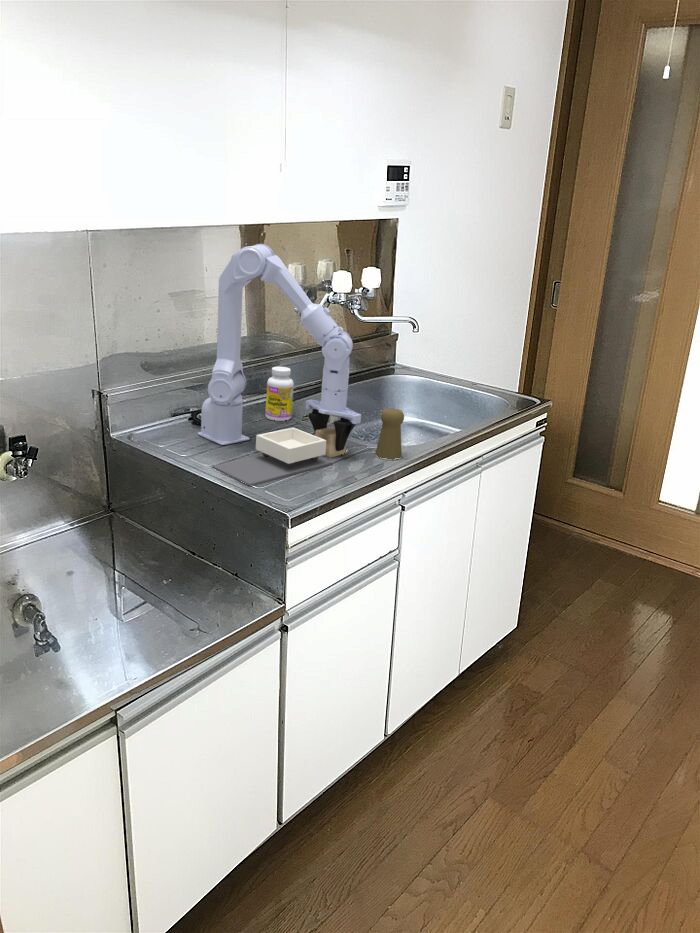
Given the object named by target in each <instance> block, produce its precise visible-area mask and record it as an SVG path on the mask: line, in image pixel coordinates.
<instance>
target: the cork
mask: <svg viewBox="0 0 700 933" xmlns="http://www.w3.org/2000/svg"><path fill="white" fill-rule="evenodd" d="M380 420H381V421H380V422H382V424H381V429H380V433H379V437H378V441H377V446H376V449H375V453H376V455H377V456H378V457H381V458H387V459H395V458H400V457H401V458H402V430H401V429H402V426H401V425H402V424H403V423H404V420H405V414H404V412H403V411H402V410H401V409H398V408H391V407H388V408H385V409H383V410H382V412H381V414H380ZM378 457H377V458H378Z"/></svg>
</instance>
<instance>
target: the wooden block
mask: <svg viewBox="0 0 700 933" xmlns="http://www.w3.org/2000/svg"><path fill="white" fill-rule="evenodd" d="M314 436H317V437H319V438H322V439H324V440H327V441H326V454H325V455H323V456H325V457H327V458H329V459H331V458H334V457H338V456H341V454H342V455H345V454H346V447H347V443H346V444H345V447H344V450H341V451H336V431H335V427H333V426H330V427H328V426H327V428H324V429H319V430H316V431H315V433H314ZM344 453H345V454H344Z"/></svg>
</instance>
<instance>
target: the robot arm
mask: <svg viewBox="0 0 700 933" xmlns="http://www.w3.org/2000/svg"><path fill="white" fill-rule="evenodd" d="M260 276H261V278H260V281H261V282H262V281H263V282H266V283H270V284H273V285H276V286H277V288H278V289H279V290H280V291H281V292H282V293H283V295H284V296H285V297H286V298H287V299H288V300H289V301H290V303H291V304H292V305H293V306H294V307H295V309H297V311H298V312H299V313H300V323H301V324H302V326H303V327H304V329H306V331H307V332H308V333H309V334H310V335H311V337H312V338H313V339H314V340H315V342H316V343H317V344H318V345H320V347H322V348H321V353H322V356H323V357H324V362H323V367H322V368H323V369H322V375H323V378H322V382H321V394H320V400H316V399H308V400H305V410H312V411H311V412H309V413H308V416H307V418H308V419H309V421H310V423H311V426H312V428H313V432H314V434H315V431H316V430H319V429H324V428H328V425H327V424H328V420H329V417H330V415H331V416H334V417H337V418H339V419H340V420H339V419H338V421H334V423H333V425H334V428H335V431H336V451H341V450H344V447H345V444H346V445H347V440H348V438H349V436H350V435H351V433H352V430H353V429H354V427H355V426H356V425H357V424H360V423H361V422H362V421H361V420H362V414H361V413H359V412H356V411H354V410H352V409H350V408H349V407H347V401H348V400H347V399H348V389H349V377H350V354H351V353H352V351H353V348H354V345H353V344H354V343H353V339H352V338H351V336H350V334H349V333H348V332H346V331H344V328H343V327H342V326H338V324H337V323H336V321H335V320H334V319H333V318H332V317H331V315H330V314H329V313H330V312H331V311H330V309H329V308H328V307H327V306H326V307H325V308H324V307H323V305H322V304H321V303H313V302H312V301H311V299H310V298H309V297H308V295H307V294H306V293H305V292H306V291H304V290H303V288H302V287H301V286H300V284H299V283H298V281H297V280H296V279H295V277H294V276H293V274H292V273H291V272H290V271H289V269H288V268H287V266H286V264H284V262H283V261H282V260H281V258H280V256H278V255H277V254H275V253H274V250H272V248H271V247H269V246H268V245H267V244H264V243H257V244H254V245H249V246H243V247H242V248H240V249H239V250H237V251H236V252H234V253H233V254H231V258H230V260H229V262H228V263H227V265H226V266H225V268H224V269H223V271H222V272H221V274H220V276H219V278H218V293H217V294H218V298H217V301H218V302H217V330H216V331H217V332H216V333H217V336H216V361H215V363H214V365H213V368H212V369H211V370H212V371H211V372H212V373H211V374H212V375H211V378H210V381H209V382H208V384H207V393H208V396H209V397H208V398H206V399H205V400H204V401H203V403H202V405H201V413H200V414H201V418H200V419H201V421H200V425H201V426H200V431H198V432H197V435H198V436H200V437H203V438H205V439H207V440H209V441H212V442H214V443H216V444H217V445H220V446H225V445H226V446H227V445H231V444H235V443H236V444H237V443H240V442H244V441H245V442H246V441H249V440H250V437H249V436H247V435H244V434H242V429H243V426H242V425H243V406H244V405H243V404H244V399H243V398H242V393H243V392H244V390H245V389H246V386H247V379H246V377H245V376H246V375H245V374H244V370H243V368H244V367H243V366H244V365H243V362H242V359H241V344H242V343H241V342H242V318H243V317H242V315H243V314H242V313H243V292H244V291H243V290H244V288H245V287H246V286H247V285H248V284H249V283H251V281H253V280H254V279H255V278H257V277H260Z"/></svg>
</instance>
